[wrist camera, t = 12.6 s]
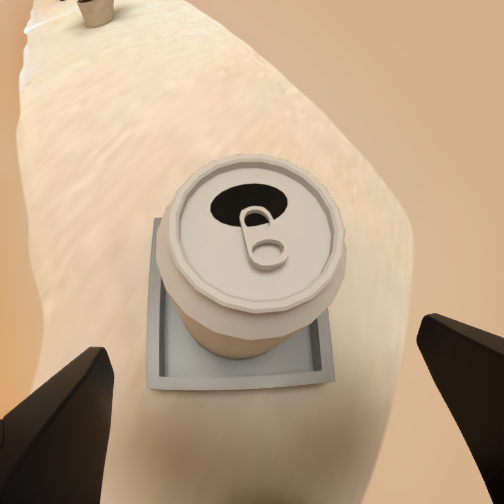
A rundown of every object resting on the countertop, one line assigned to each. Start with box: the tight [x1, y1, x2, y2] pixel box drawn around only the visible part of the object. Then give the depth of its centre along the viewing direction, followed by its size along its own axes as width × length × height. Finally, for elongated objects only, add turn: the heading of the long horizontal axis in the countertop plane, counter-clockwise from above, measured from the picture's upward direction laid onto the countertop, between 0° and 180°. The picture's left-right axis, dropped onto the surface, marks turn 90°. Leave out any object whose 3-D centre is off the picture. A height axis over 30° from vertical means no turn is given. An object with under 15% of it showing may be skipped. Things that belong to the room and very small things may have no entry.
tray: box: [146, 218, 335, 390], centre depth 21 cm, size 12×12×2 cm
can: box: [156, 154, 346, 360], centre depth 16 cm, size 8×8×12 cm
